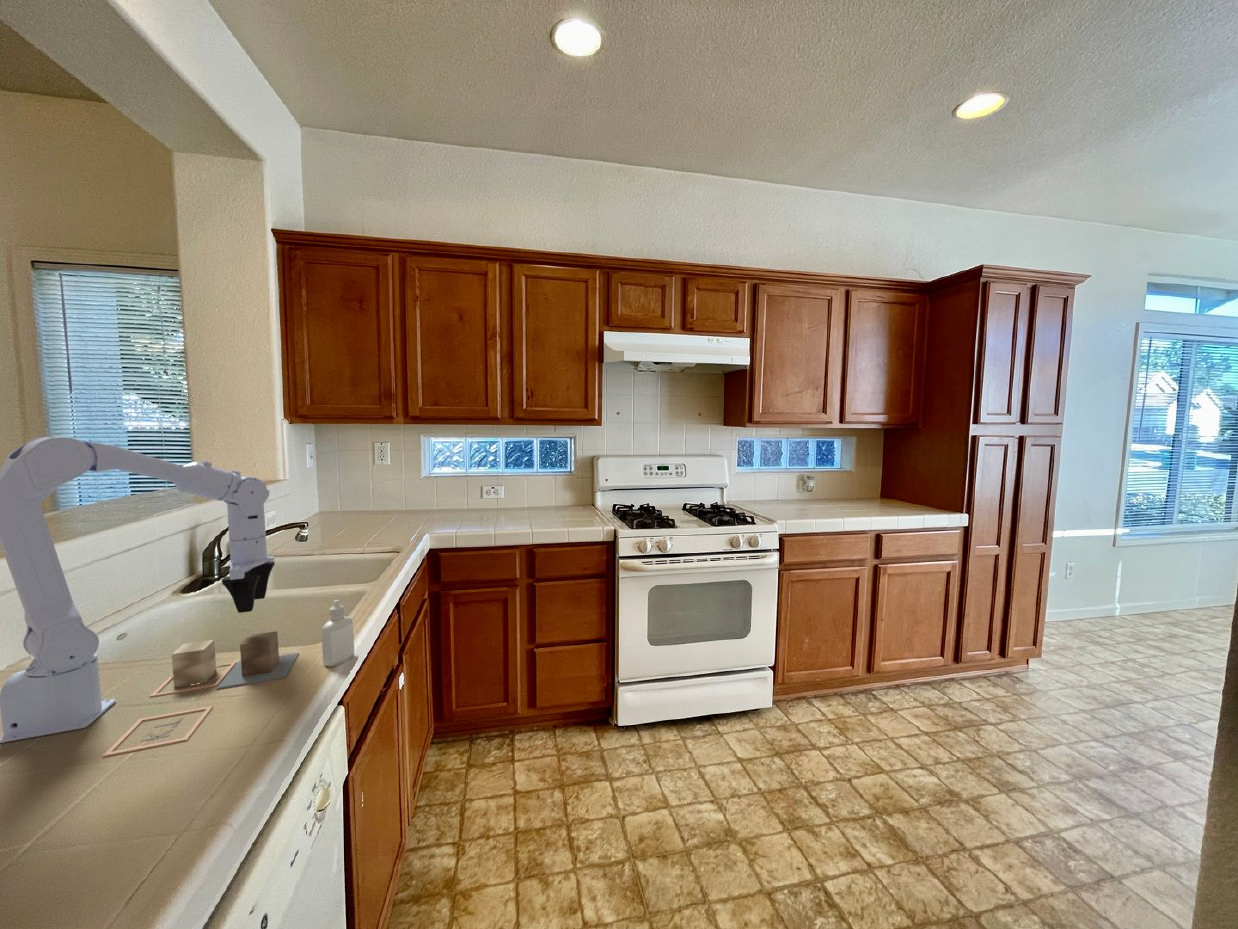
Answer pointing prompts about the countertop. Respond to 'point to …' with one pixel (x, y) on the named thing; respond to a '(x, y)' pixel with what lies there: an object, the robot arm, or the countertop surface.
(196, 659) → the oak block
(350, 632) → the eye dropper bottle
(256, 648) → the walnut block
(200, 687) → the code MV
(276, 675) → the coaster
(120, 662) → the countertop surface
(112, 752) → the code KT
